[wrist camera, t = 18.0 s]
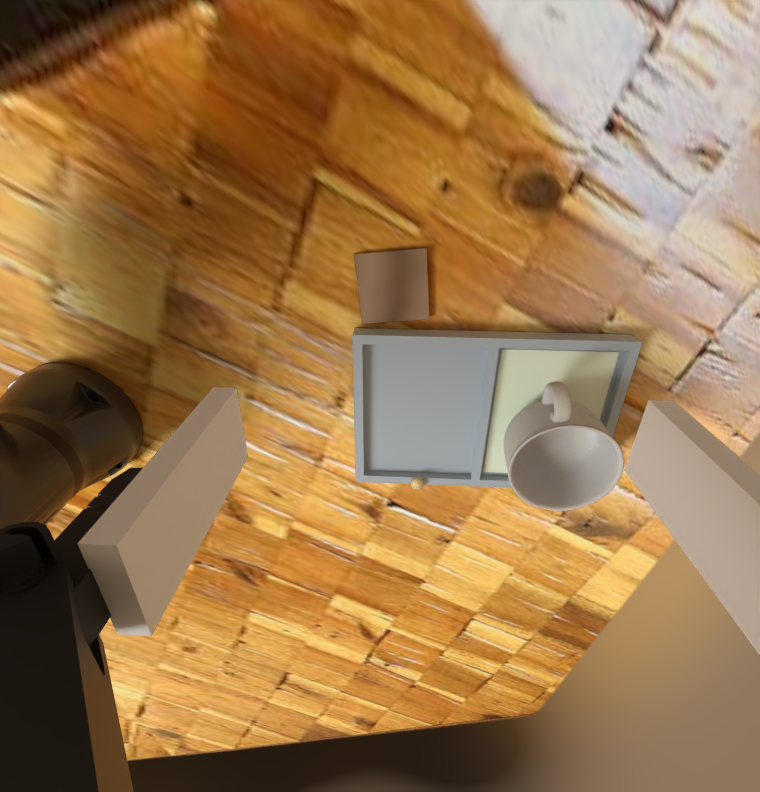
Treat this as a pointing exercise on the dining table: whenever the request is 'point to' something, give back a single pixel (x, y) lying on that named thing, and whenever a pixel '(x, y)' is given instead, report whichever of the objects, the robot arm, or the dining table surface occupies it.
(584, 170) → the dining table surface
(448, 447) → the grey divided tray
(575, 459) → the teacup
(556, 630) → the dining table surface
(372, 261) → the walnut coaster
